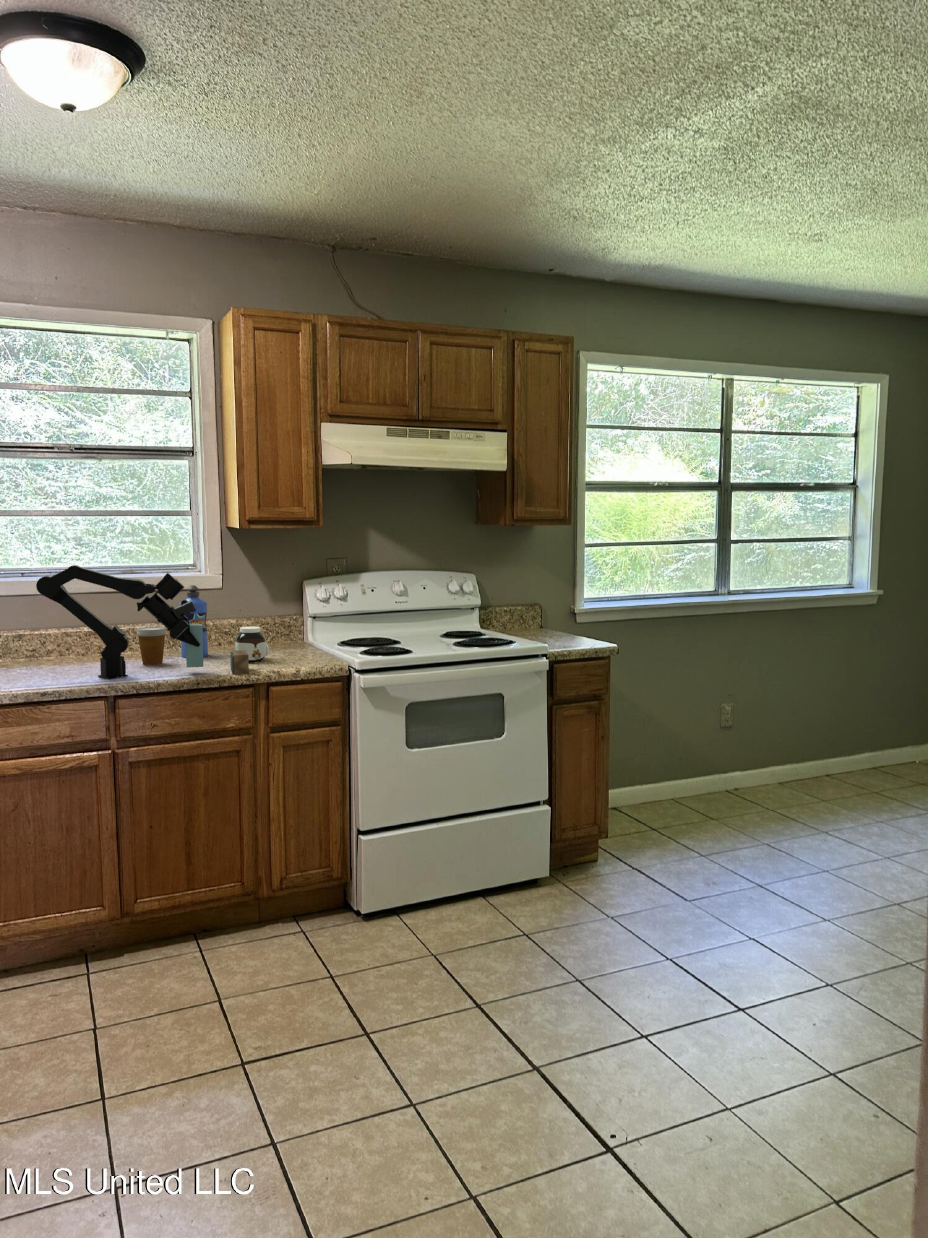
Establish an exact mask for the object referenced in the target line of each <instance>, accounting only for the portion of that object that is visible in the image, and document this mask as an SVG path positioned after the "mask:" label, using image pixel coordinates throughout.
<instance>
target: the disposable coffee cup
mask: <svg viewBox="0 0 928 1238" xmlns="http://www.w3.org/2000/svg"><path fill="white" fill-rule="evenodd" d="M167 632H168V630H167V629H166V627H165V626H145V627H138V628H137V631H136V636H137V638H138V642H139V643H138V644H139V650H140V654H141V655H140V656H141V661H142V665H144V666H158V665H163V662H164V651H165V641H166V635H167Z"/></svg>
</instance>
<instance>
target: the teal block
mask: <svg viewBox="0 0 928 1238" xmlns="http://www.w3.org/2000/svg"><path fill="white" fill-rule="evenodd" d="M190 632H191V633H192V634H193V636H194V637H195V638H196V639H197V641H198V642H199V643H200V646H199V647H196V646H194V645H191V644H188V643H186V658H185V659H186V668H203V667H204V657H203V626H202V624H190Z"/></svg>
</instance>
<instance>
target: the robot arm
mask: <svg viewBox="0 0 928 1238" xmlns="http://www.w3.org/2000/svg"><path fill="white" fill-rule="evenodd" d="M73 580H78V581H82V582H87V583H89V584H93V585H97V586H100V587H105V588H106V589H107V588H108V589H112V590H115V591H117V592H119V593H121V594H123V595H124V596H126V597H128V598H131V599H133V600H140V599H142V600H141V601H137V602H136V606H137V612H141V610H143V609H145V610H146V611H147V612H148V613H149V614H150V615H151V616H152V617H154V619H156V621H157V622H158V623H160V624H161V625H163V627H164V628H165V629H166V631H167V632H169V636H170V638H172V639H173V640H176V641H180V642H181V641H182V642H185V643H188V644H191V645H194V646H196V647H199V646H200V643H199V642H198V641H197V639H196V638H195V637H194V636H193V634H192V633H191V632H190V622H189V621H188V622H186V620H188V618H187V617H186V616H185V615H186V614H189V613H191V612H194V611H196V608H195V606H194V604H193V602H192V600H191V601H189V602H188V601H187V600H186V599H183V600H181V601H180V602H181V605H180V606H179V605H178V606H176V607H174V606H173V605H169V604H168V603H167V602H166V601H168V600H174V599H175V598H176V597H177V595H179V594H180V592H182V591H183V590H184V589H185V586H184V584H183V583H181V582H180V581H179V580H178V579H177V578H175V577H174V576H173V575H171V574H170V573H169V572H167V573H166V574H165V575H163V578H162V579H160V581H158V582H157V583H156V584H154V583H146V582H145V581H144V580H142V579H138V578H128V577H117V576H113V575H111V574H107V573H105V572H99V571H96V570H94V569H93V570H92V569H89V568H85V567H82V566H79V565H77V564H72V565H70V566H69V567H68V568H66V569H64V570H62V571H60V572H58V573H56V574H54V575H52V574H47V575H43V576H42V577H40V578H38V580H37V581H36V583H35V584H36V585H35V586H36V591H37V592H38V593H39V594H40V595H42V596H43V597H45V598H47V599H49V600H51V601H53V602H55V603H57V604H60V605H61V606H62V607H63V608H64V609H66V610H67V611H68V612H69V613H70V614H72V616H74V617H76V618H77V619H78V620H79V621H80V622H81V623H83V624H84V625H86V626H87V627H88V628H89V629H90V630H91V631H93V632H94V633H96V635H97V636H98V638H99V639H101V641H102V642H103V644H104V645H105V646H104V647H103V648H102V650H101V652H100V655H101V657H100V658H99V660H100V661H99V663H100V664H99V665H100V674H99V675H97V677H98V678H102V679H106V680H107V679H108V680H111V679H119V678H123V677H124V678H125V677H128V676H129V675H128V674H126V673H127V671H126V670H127V668H126V667H127V665H126V664H127V663H126V660H125V656H124V655H122V653H124V652H125V651H126V650H127V648H128V646H129V644H130V643H129V642H130V641H129V637H128V636H127V631H124V630H122V629H121V628H120V627H119V626H118V625H117V624H114V626H110V625H108V624H106V623H105V622H104V621H103V620H102V619H101V618H99V617H98V616H97V615H96V614H94V612H92V611H90V610H89V609H88V608H87V607H86V606H85V605H84V604H82V603H81V602H80V601H79V600H78V599H76V598H75V597H74V596H72V594H70V592H69V591H68V590H67V589H66V587H65V586H64V585H66V584H67V583H69V582H70V581H73ZM155 591H156V592H155ZM148 594H152V595H151V596H148ZM158 594H159V595H158ZM144 597H145V598H144Z"/></svg>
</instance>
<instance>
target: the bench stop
mask: <svg viewBox="0 0 928 1238" xmlns="http://www.w3.org/2000/svg"><path fill="white" fill-rule="evenodd" d="M249 664H250V663H249V659H248V653H247V651H246V650H237V651H236V650H232V651H230V670H231V675H245V674H246V675H247V674H250V673H249V672H250V668H249V667H250V665H249Z"/></svg>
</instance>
